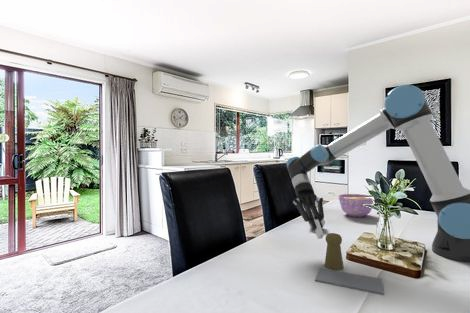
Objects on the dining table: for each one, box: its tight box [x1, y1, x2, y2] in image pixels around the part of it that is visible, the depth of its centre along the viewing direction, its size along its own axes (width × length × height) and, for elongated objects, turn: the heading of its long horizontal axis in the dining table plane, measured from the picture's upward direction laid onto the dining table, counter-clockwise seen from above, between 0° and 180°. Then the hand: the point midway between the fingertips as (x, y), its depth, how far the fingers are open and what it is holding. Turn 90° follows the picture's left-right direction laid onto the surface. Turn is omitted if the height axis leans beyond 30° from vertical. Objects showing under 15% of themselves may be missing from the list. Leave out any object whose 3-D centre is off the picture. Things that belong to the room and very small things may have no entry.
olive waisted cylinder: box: [324, 232, 344, 271], centre depth 88 cm, size 6×6×11 cm
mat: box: [314, 267, 384, 296], centre depth 78 cm, size 18×9×1 cm, turn 63°
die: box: [308, 213, 326, 230], centre depth 132 cm, size 8×9×10 cm
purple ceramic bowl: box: [338, 193, 374, 218], centre depth 158 cm, size 20×20×12 cm
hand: (320, 236), depth 97 cm, fingers closed
